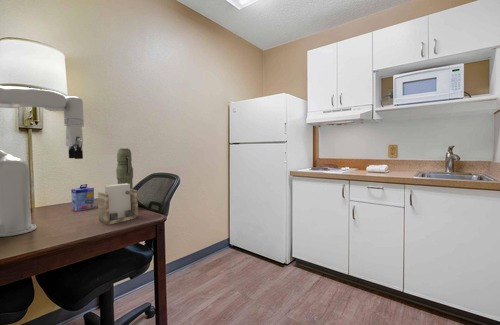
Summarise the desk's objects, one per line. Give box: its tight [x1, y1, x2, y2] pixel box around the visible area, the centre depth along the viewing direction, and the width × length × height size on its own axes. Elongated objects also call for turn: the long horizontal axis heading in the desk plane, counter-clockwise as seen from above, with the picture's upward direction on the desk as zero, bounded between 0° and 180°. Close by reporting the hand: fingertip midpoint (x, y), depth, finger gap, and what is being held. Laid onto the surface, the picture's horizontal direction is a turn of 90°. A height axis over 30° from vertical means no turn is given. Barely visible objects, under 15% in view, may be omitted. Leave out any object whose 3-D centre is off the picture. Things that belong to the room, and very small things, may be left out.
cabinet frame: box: [97, 188, 139, 226], centre depth 117 cm, size 14×10×14 cm
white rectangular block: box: [104, 183, 131, 220], centre depth 117 cm, size 10×5×16 cm, turn 140°
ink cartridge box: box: [70, 183, 95, 212], centre depth 137 cm, size 10×6×14 cm, turn 155°
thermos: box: [115, 148, 134, 190], centre depth 141 cm, size 9×12×35 cm
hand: (75, 158), depth 115 cm, fingers open, 9 cm apart
